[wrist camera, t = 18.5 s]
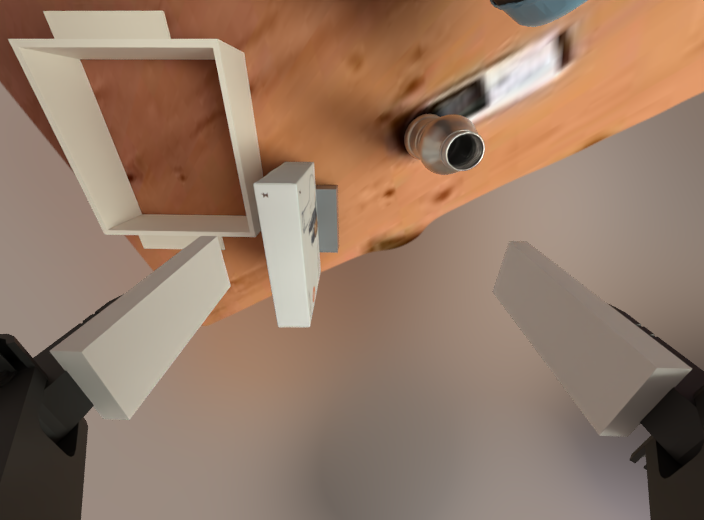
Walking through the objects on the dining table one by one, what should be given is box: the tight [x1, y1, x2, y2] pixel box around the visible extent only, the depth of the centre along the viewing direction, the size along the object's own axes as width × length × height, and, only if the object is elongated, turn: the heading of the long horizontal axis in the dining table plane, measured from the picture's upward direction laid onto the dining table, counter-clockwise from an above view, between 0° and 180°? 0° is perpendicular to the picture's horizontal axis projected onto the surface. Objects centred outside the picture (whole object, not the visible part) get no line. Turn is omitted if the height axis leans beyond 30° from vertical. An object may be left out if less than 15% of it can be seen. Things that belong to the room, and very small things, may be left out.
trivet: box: [315, 185, 339, 252], centre depth 49 cm, size 12×12×3 cm
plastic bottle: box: [404, 114, 485, 175], centre depth 34 cm, size 6×7×20 cm
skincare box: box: [253, 162, 321, 327], centre depth 40 cm, size 21×6×16 cm, turn 0°
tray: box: [8, 11, 263, 250], centre depth 41 cm, size 31×26×8 cm
